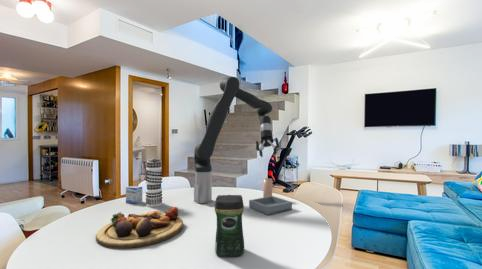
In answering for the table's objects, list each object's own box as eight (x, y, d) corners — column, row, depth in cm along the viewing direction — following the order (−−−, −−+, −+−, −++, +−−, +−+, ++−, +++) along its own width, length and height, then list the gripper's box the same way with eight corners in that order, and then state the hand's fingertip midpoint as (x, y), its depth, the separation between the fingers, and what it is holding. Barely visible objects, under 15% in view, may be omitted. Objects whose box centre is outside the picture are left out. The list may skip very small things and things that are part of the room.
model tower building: (144, 203, 136) (144, 158, 136) (161, 201, 140) (161, 157, 140) (145, 207, 128) (145, 160, 128) (163, 205, 132) (163, 159, 132)
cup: (267, 201, 141) (267, 180, 141) (261, 199, 145) (261, 178, 145) (274, 199, 144) (274, 179, 144) (268, 197, 148) (268, 177, 148)
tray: (268, 215, 115) (268, 207, 115) (249, 207, 128) (249, 200, 128) (291, 209, 124) (291, 201, 124) (272, 202, 137) (272, 195, 137)
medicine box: (125, 202, 137) (125, 187, 137) (131, 200, 142) (131, 185, 142) (137, 203, 135) (137, 188, 135) (142, 201, 139) (142, 186, 139)
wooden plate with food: (178, 214, 119) (178, 197, 119) (188, 240, 89) (188, 217, 89) (103, 224, 107) (103, 205, 107) (86, 257, 77) (86, 231, 77)
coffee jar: (243, 246, 84) (243, 192, 84) (244, 258, 76) (244, 198, 76) (215, 246, 84) (215, 192, 84) (213, 258, 76) (213, 198, 76)
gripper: (253, 131, 156) (255, 155, 150) (275, 127, 151) (278, 152, 145) (257, 135, 162) (259, 159, 156) (278, 131, 158) (281, 155, 151)
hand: (268, 155), depth 150 cm, fingers open, 8 cm apart
